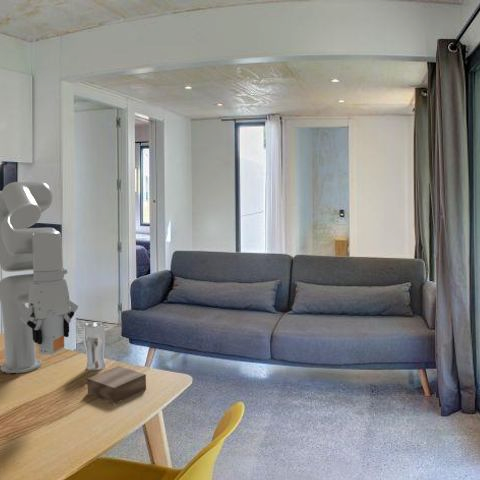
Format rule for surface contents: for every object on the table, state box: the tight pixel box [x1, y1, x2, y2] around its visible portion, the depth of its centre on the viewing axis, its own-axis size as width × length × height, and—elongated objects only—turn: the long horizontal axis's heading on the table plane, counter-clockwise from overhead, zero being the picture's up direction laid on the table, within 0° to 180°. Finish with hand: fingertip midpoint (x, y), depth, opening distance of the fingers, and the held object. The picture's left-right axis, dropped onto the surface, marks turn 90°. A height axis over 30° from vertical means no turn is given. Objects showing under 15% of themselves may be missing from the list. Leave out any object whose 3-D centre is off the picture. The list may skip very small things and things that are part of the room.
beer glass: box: [83, 321, 106, 372], centre depth 163 cm, size 7×7×15 cm
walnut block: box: [86, 365, 147, 405], centre depth 144 cm, size 12×12×5 cm
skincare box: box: [38, 310, 65, 356], centre depth 133 cm, size 6×4×12 cm
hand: (51, 339), depth 133 cm, fingers closed on skincare box, 7 cm apart
